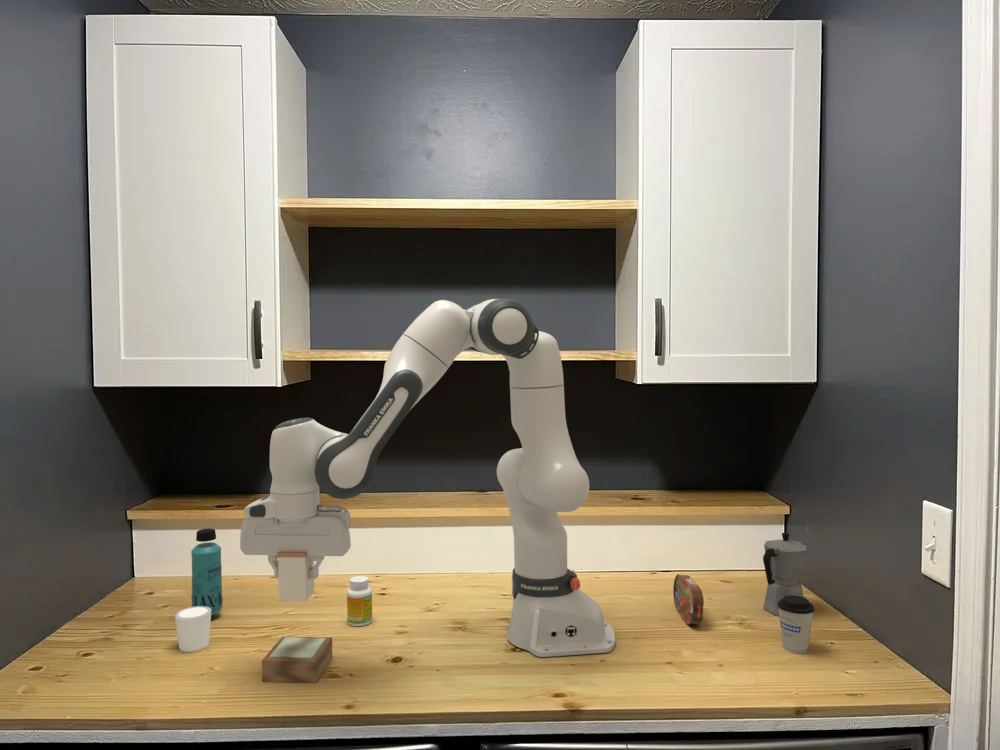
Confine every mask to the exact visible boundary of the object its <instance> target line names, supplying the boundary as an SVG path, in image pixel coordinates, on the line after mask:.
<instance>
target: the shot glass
mask: <svg viewBox="0 0 1000 750" xmlns="http://www.w3.org/2000/svg"><path fill="white" fill-rule="evenodd" d="M211 617H212V615H211V608H209V607H206V606H195V607H192V606H191V607H185V608H184V609H180V610H179V611H177V612H175V614H174V620H175V628H176V634H177V643H178V648H179V650H180V651H182V652H188V653H190V652H196V651H199V650H202V649H204V648H206V647H208V646H209V645H210V635H211V633H210V632H211V621H212V618H211Z"/></svg>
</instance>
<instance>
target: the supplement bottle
mask: <svg viewBox="0 0 1000 750" xmlns="http://www.w3.org/2000/svg"><path fill="white" fill-rule="evenodd" d="M349 586H350V587H349V588H348V589H347V591H346V592H347V593H346V603H347V604H346V608H347V609H346V611H347V612H346V613H347V615H346V616H347V624H348V625H350V626H352V627H362V626H363V627H364V626H366V625H367V626H368V625H369V624H371V623H372V621H373V591H372V588H371V586H369V577H368V576H365V575H356V576H353V577H351V578H350V579H349Z"/></svg>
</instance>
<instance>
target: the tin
mask: <svg viewBox="0 0 1000 750" xmlns="http://www.w3.org/2000/svg"><path fill="white" fill-rule="evenodd" d="M672 588H673V589H672V590H673V591H672V592H673V603H674V607H675V610H676V612H677V613H678V614H679V617H681V618H682V621H684V622H685V624H686V625H700V624H701V623H702V621H703V618H704V616H703V615H704V602H705V601H704V600H705V599H704V595H703V592H702V589H701V588H700V586H699V585H698V583H696V581H695V580H694V579H693V578H692V577H691V576H690V575H686V574H676V575H675V576H674V581H673V587H672Z"/></svg>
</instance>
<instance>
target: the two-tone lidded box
mask: <svg viewBox="0 0 1000 750" xmlns="http://www.w3.org/2000/svg"><path fill="white" fill-rule="evenodd" d="M277 557H278V558H277V559H278V574H279V578H278V602H300V603H301V602H303V603H304V602H307V601H308V599H310V597H311V596H312V595H313V594H314V592H315V579H309V578H308V575H309V574H308V570H309V569H310V568H311V567H314V566H315V561H314V557H313V556H307V553H306V552H278V553H277Z"/></svg>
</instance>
